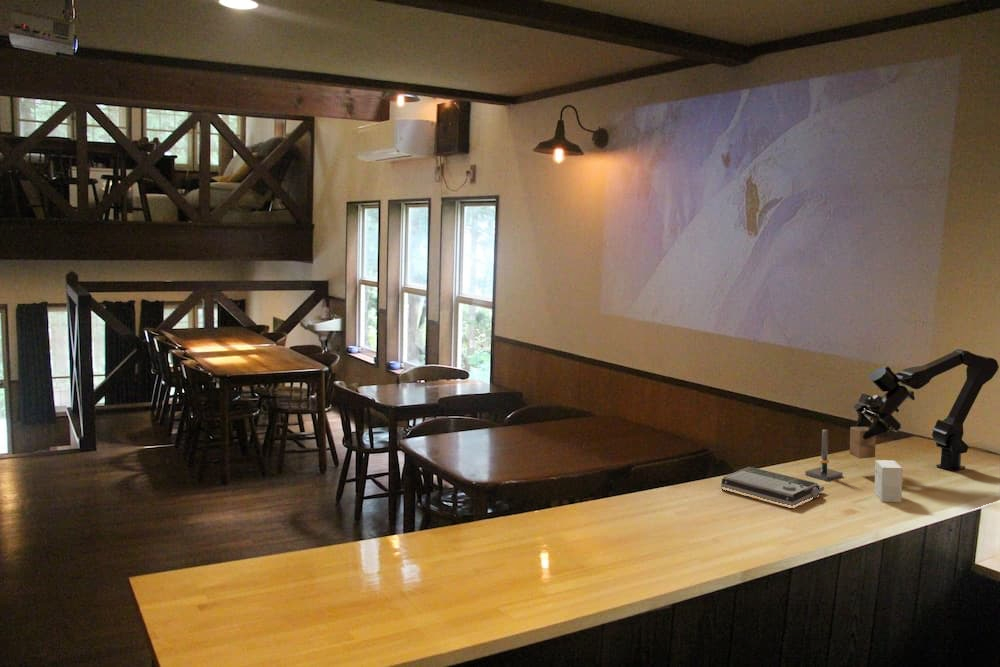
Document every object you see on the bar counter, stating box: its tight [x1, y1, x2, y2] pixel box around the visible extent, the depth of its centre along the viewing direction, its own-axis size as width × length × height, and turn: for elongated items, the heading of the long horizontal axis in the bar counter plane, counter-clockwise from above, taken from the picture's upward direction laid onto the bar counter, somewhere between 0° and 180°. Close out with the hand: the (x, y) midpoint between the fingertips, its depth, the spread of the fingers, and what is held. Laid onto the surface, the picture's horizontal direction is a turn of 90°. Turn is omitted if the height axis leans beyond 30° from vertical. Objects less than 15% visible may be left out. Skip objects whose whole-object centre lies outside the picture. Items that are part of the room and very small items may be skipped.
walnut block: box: [849, 426, 877, 459], centre depth 256 cm, size 6×6×9 cm
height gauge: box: [805, 429, 843, 482], centre depth 255 cm, size 8×8×15 cm
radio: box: [720, 466, 825, 506], centre depth 241 cm, size 24×5×20 cm
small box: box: [874, 459, 903, 503], centre depth 234 cm, size 8×6×10 cm
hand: (858, 436), depth 255 cm, fingers closed on walnut block, 5 cm apart
